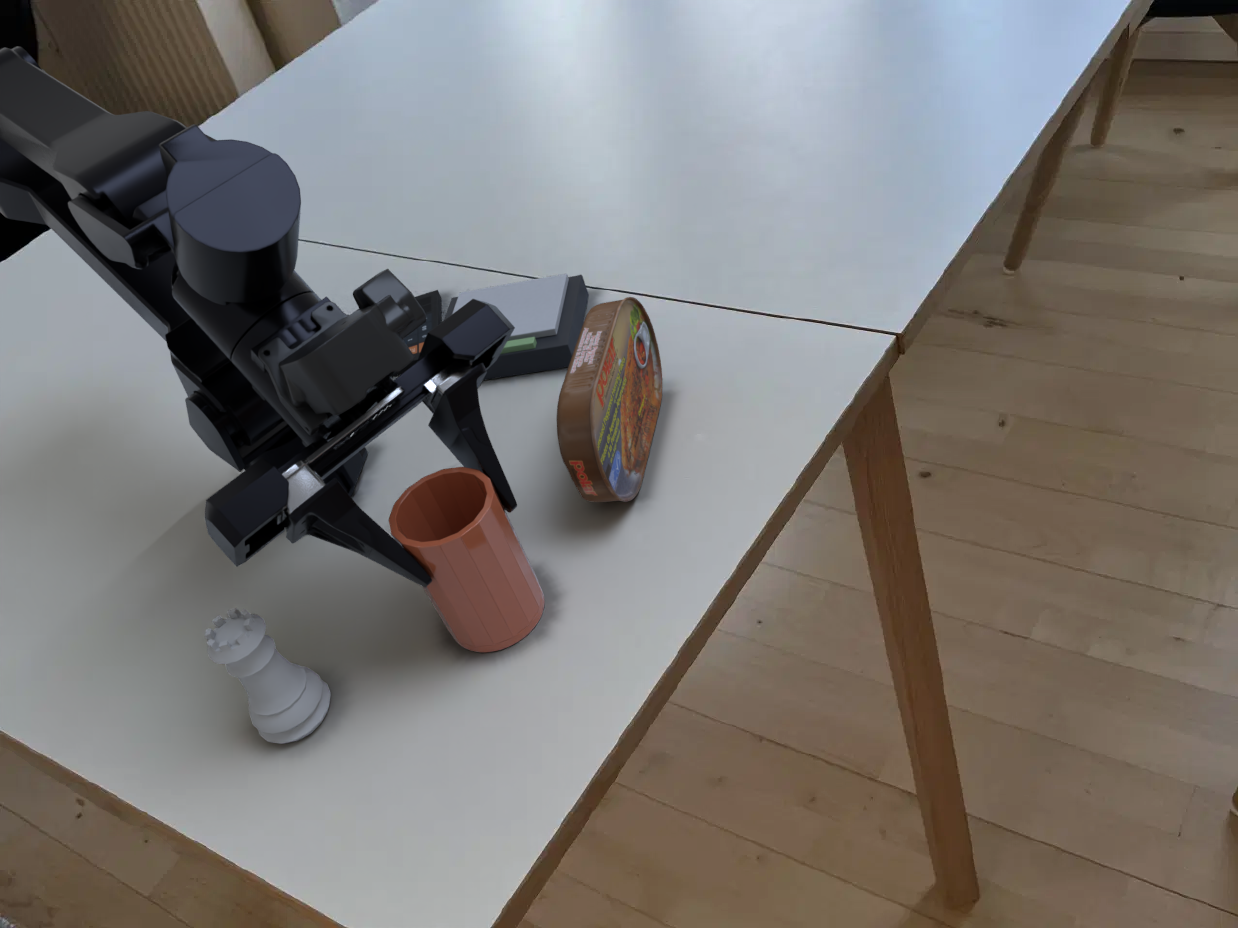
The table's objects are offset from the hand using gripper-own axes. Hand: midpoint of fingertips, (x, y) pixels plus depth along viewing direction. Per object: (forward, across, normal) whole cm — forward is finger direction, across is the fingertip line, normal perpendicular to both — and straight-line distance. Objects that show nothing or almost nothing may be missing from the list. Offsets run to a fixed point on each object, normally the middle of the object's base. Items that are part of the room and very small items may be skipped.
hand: (472, 546), depth 57 cm
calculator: (-18, +12, +28) cm, 35 cm away
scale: (-10, +19, +20) cm, 29 cm away
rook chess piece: (0, -12, +9) cm, 15 cm away
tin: (+2, +14, +8) cm, 16 cm away
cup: (+4, 0, +6) cm, 7 cm away
